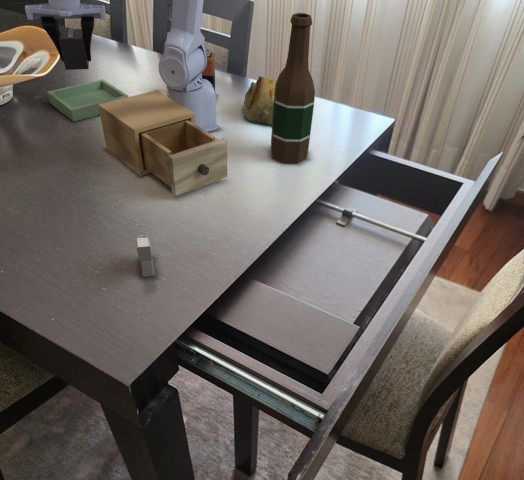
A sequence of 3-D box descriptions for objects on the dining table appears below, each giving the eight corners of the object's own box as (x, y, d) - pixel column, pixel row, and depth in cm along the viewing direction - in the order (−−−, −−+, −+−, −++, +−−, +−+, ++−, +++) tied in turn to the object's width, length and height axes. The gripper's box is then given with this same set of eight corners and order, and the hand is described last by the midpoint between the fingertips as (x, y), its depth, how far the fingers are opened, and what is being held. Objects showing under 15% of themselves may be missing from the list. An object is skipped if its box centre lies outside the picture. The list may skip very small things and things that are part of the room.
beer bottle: (312, 150, 100) (330, 12, 82) (301, 167, 95) (318, 24, 77) (276, 143, 101) (286, 5, 83) (264, 159, 96) (272, 17, 78)
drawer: (231, 179, 89) (231, 143, 84) (179, 199, 83) (176, 161, 78) (191, 152, 95) (189, 116, 90) (140, 169, 90) (135, 132, 84)
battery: (213, 102, 113) (212, 54, 106) (184, 100, 113) (181, 52, 106) (215, 95, 116) (214, 47, 109) (187, 93, 116) (184, 45, 109)
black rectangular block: (67, 59, 102) (59, 27, 98) (89, 58, 103) (83, 27, 99) (65, 69, 99) (58, 37, 94) (88, 69, 99) (82, 36, 95)
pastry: (230, 109, 111) (230, 70, 105) (276, 100, 116) (279, 63, 110) (262, 134, 104) (264, 94, 98) (310, 124, 108) (314, 85, 102)
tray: (105, 90, 115) (103, 79, 113) (130, 107, 109) (128, 95, 107) (49, 103, 109) (46, 91, 107) (73, 121, 103) (71, 110, 101)
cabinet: (196, 157, 95) (194, 112, 89) (140, 176, 90) (133, 129, 83) (161, 133, 101) (156, 89, 95) (106, 149, 96) (97, 104, 89)
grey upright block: (140, 259, 73) (133, 213, 67) (152, 258, 74) (145, 212, 68) (144, 290, 69) (135, 243, 63) (156, 289, 69) (149, 242, 63)
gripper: (15, -17, 86) (37, 67, 96) (99, -16, 89) (113, 65, 99) (19, -27, 91) (40, 55, 101) (99, -26, 93) (112, 54, 103)
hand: (76, 59), depth 100 cm, fingers closed on black rectangular block, 4 cm apart
